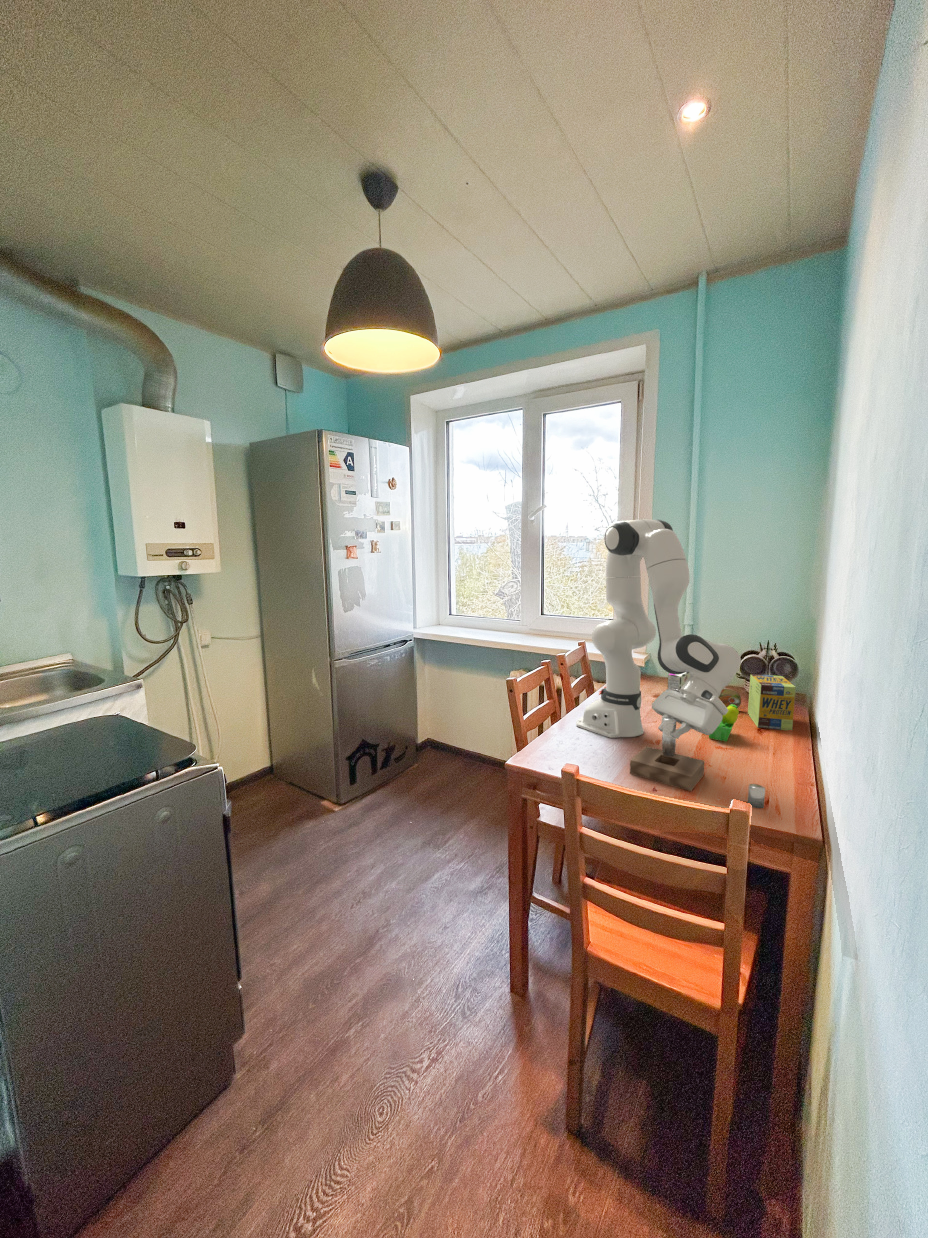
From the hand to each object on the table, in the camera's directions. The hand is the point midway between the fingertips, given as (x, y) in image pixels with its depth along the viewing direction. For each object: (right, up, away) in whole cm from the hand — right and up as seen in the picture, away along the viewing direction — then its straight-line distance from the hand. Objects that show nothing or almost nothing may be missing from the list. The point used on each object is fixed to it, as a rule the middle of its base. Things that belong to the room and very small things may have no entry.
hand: (667, 733), depth 131 cm
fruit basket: (+30, -8, +28) cm, 42 cm away
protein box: (+53, -6, +40) cm, 67 cm away
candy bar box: (+25, -5, +49) cm, 55 cm away
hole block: (+1, -12, +2) cm, 12 cm away
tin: (+44, -4, +56) cm, 71 cm away
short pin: (+15, -14, -14) cm, 25 cm away
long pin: (+1, -6, +1) cm, 6 cm away
